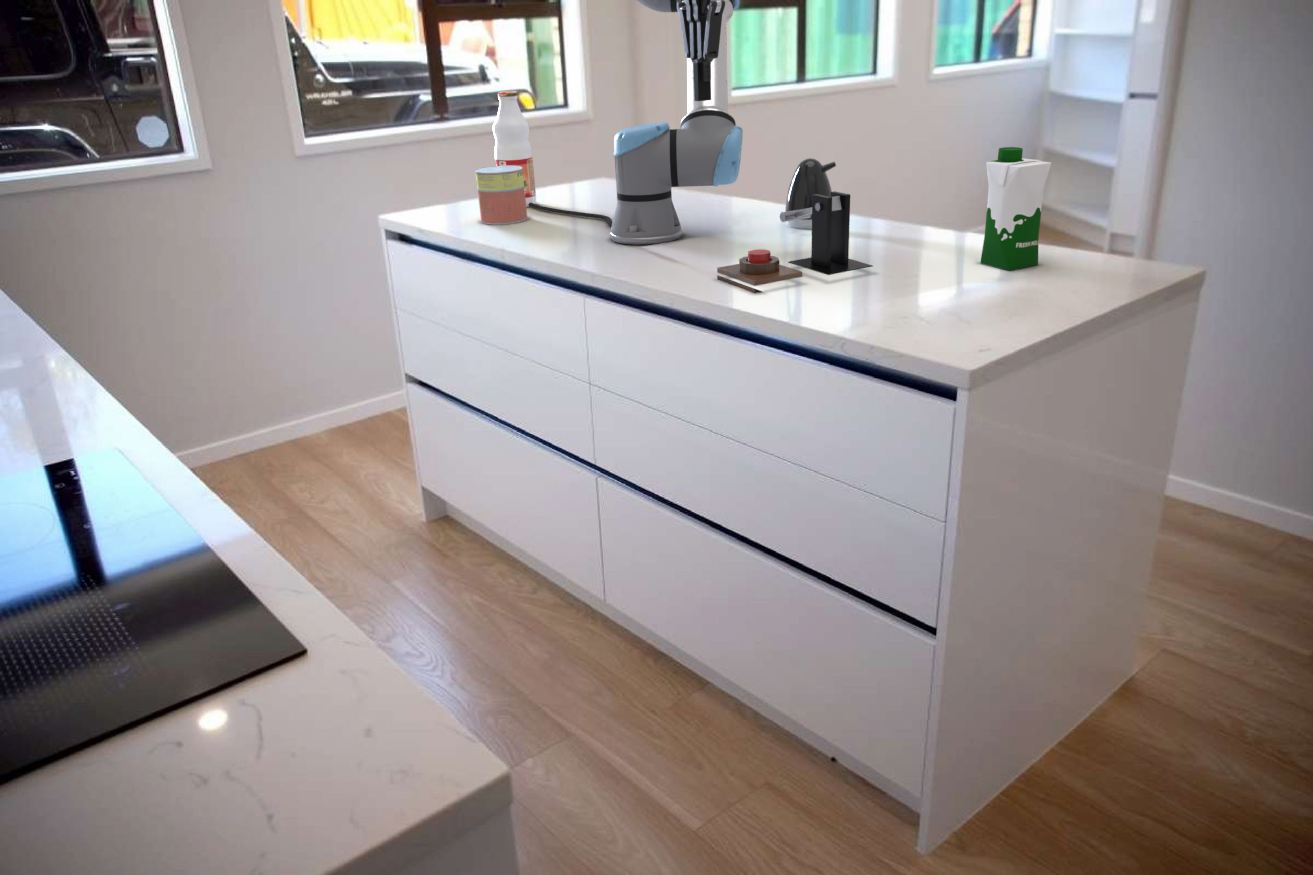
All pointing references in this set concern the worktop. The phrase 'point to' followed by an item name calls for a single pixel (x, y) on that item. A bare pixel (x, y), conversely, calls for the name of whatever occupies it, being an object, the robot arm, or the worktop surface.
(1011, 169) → the milk carton
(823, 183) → the pump dispenser
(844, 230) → the black lever stand
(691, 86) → the robot arm
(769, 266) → the button box
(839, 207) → the tap lever
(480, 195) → the canned food
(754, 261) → the button
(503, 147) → the fruit juice
